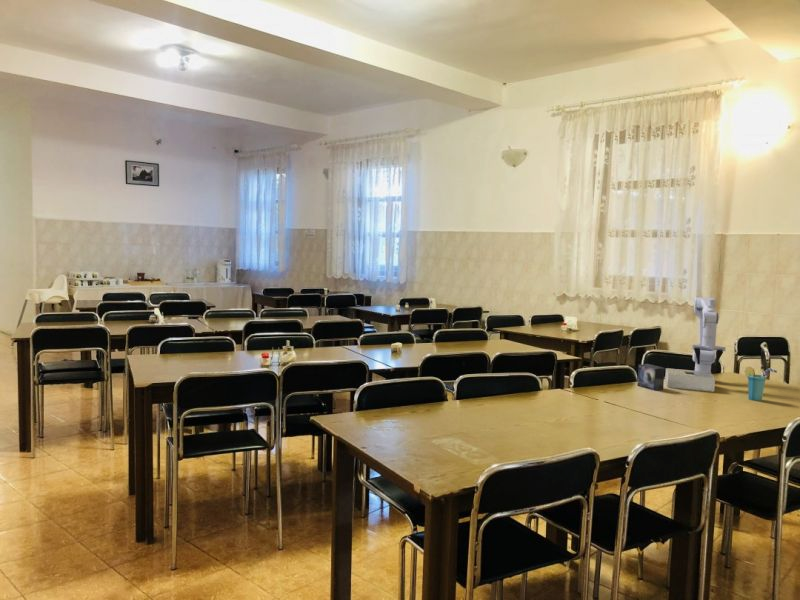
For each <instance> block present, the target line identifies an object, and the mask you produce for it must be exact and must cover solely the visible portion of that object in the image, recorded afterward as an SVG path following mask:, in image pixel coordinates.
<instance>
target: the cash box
mask: <svg viewBox="0 0 800 600" xmlns="http://www.w3.org/2000/svg"><path fill="white" fill-rule="evenodd" d="M665 381H666V382H665ZM664 382H665V384H667V385H666V387H667V388H669V387H670V388H671V389H681V390H691V391H701V392H710V393H711V392H712V393H714V392H715V383H716V378H715V376H714V375H713V373H712V372H703V371H695V370H691V369H690V370H689V369H679V368H677V369H676V368H669V367H667V368H665V374H664ZM670 388H669V389H670Z"/></svg>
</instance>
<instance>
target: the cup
mask: <svg viewBox="0 0 800 600" xmlns="http://www.w3.org/2000/svg"><path fill="white" fill-rule="evenodd" d="M769 371H770V372H773V373H777V371H778V370H776V369H772V368H770V367H769V368H767V369H765V372H764V374H756V371H755V368H753V367H752V366H747V367H745V370H744V373H745V377H747V379H748V380H747V381H748V382H747V385H748V400H750V401H755V402H762V400H763V395H764V389H765V384H766V380H767V373H768V372H769Z"/></svg>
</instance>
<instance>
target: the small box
mask: <svg viewBox="0 0 800 600" xmlns="http://www.w3.org/2000/svg"><path fill="white" fill-rule="evenodd" d="M665 371H666V368H665V367H662V366H659V365H654V364H649V363H642V364H638V370H637V383H636V385H637V387H640V388H644V389H648V390H651V391H663V390H664V382H665Z"/></svg>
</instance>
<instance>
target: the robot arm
mask: <svg viewBox="0 0 800 600" xmlns="http://www.w3.org/2000/svg"><path fill="white" fill-rule="evenodd" d="M716 304H717V300H716V298H715V297H703V296H702V297H700V296H699V297H698V296H695V297H694V299H693V313H694V315H696V316H697V319H698V344H691V349H692V361H693V362H694V363H695V364H694V365H695V366H694V371H703V372H711V370H712V364H714V366H718V364H719V361H720V358H721V357H722V355H723V353H724V352H726V348H727V347H726V346H717V345H716V341H717V340H716V339H717V328H718V327H717V325H718V324H719V318H720V316H719V312H718V311H716ZM711 373H712V372H711Z"/></svg>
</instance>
